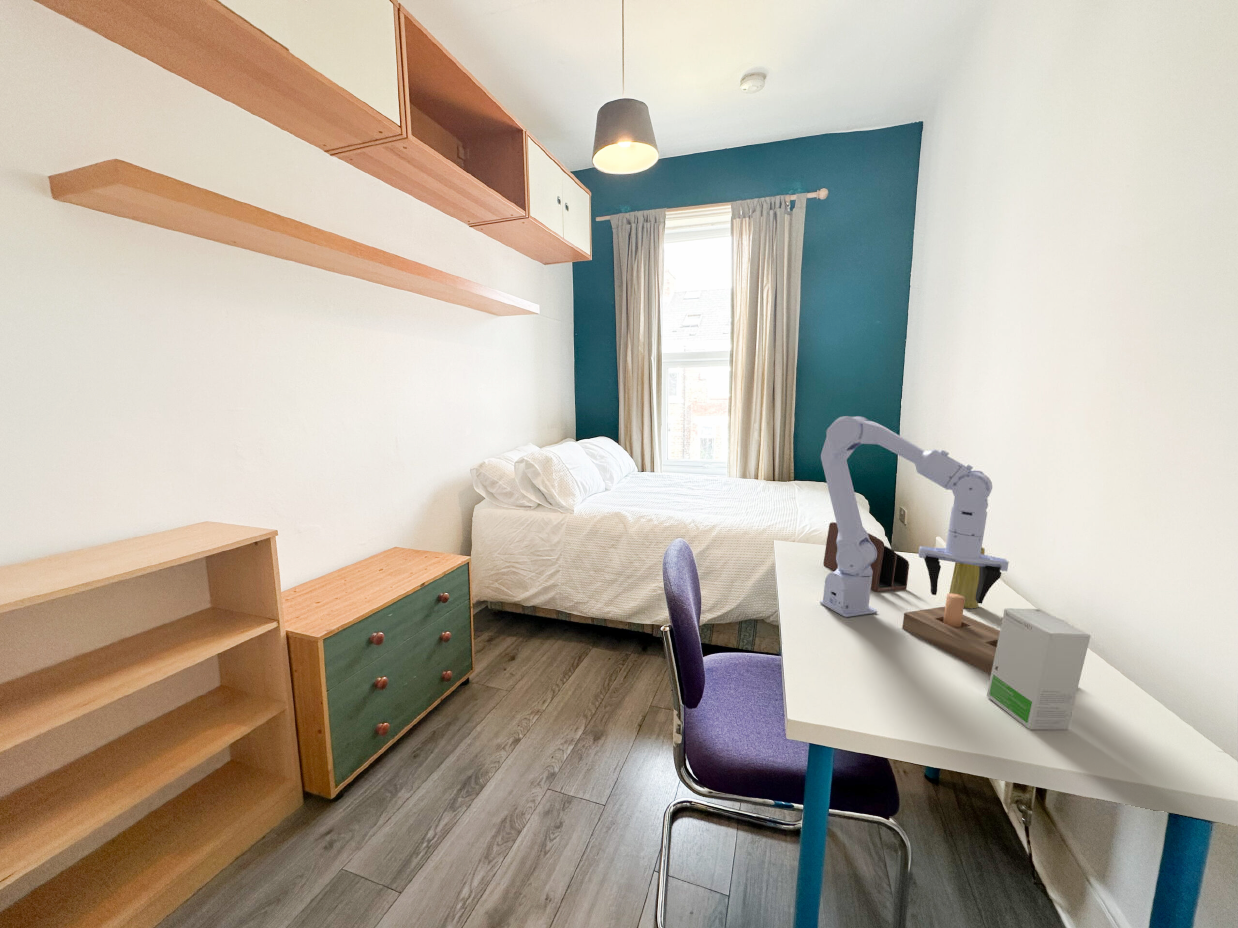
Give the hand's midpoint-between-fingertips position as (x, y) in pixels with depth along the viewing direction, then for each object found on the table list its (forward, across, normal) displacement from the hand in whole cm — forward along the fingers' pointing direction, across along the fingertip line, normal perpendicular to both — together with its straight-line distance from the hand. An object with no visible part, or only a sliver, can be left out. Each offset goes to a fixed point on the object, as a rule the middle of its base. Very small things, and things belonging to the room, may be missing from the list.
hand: (955, 597), depth 98 cm
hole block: (+9, -4, +4) cm, 10 cm away
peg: (+9, 0, 0) cm, 9 cm away
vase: (+9, -6, -23) cm, 26 cm away
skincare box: (+9, -6, +23) cm, 26 cm away
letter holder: (+9, +15, -30) cm, 35 cm away
